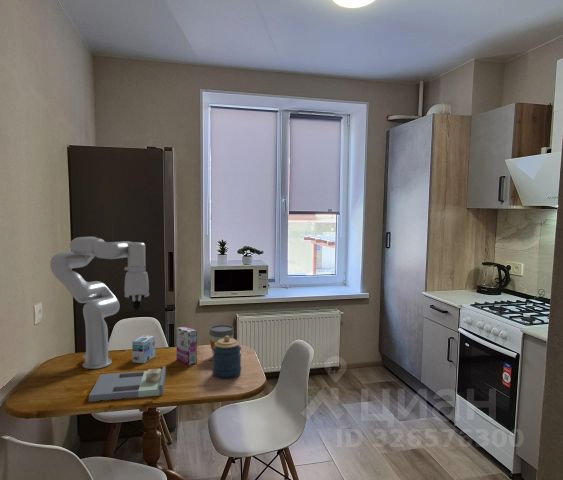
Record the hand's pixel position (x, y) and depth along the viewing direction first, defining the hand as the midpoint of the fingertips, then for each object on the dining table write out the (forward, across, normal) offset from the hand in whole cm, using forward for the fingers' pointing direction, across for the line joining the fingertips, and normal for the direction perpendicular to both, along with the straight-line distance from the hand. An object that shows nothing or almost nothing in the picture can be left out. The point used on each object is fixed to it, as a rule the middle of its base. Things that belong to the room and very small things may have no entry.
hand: (137, 309), depth 176 cm
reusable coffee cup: (+29, +39, +11) cm, 50 cm away
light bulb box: (+29, +1, +16) cm, 33 cm away
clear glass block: (+27, +8, -18) cm, 33 cm away
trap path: (+29, -2, -17) cm, 34 cm away
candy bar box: (+29, +22, +8) cm, 37 cm away
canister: (+29, +40, -11) cm, 51 cm away
